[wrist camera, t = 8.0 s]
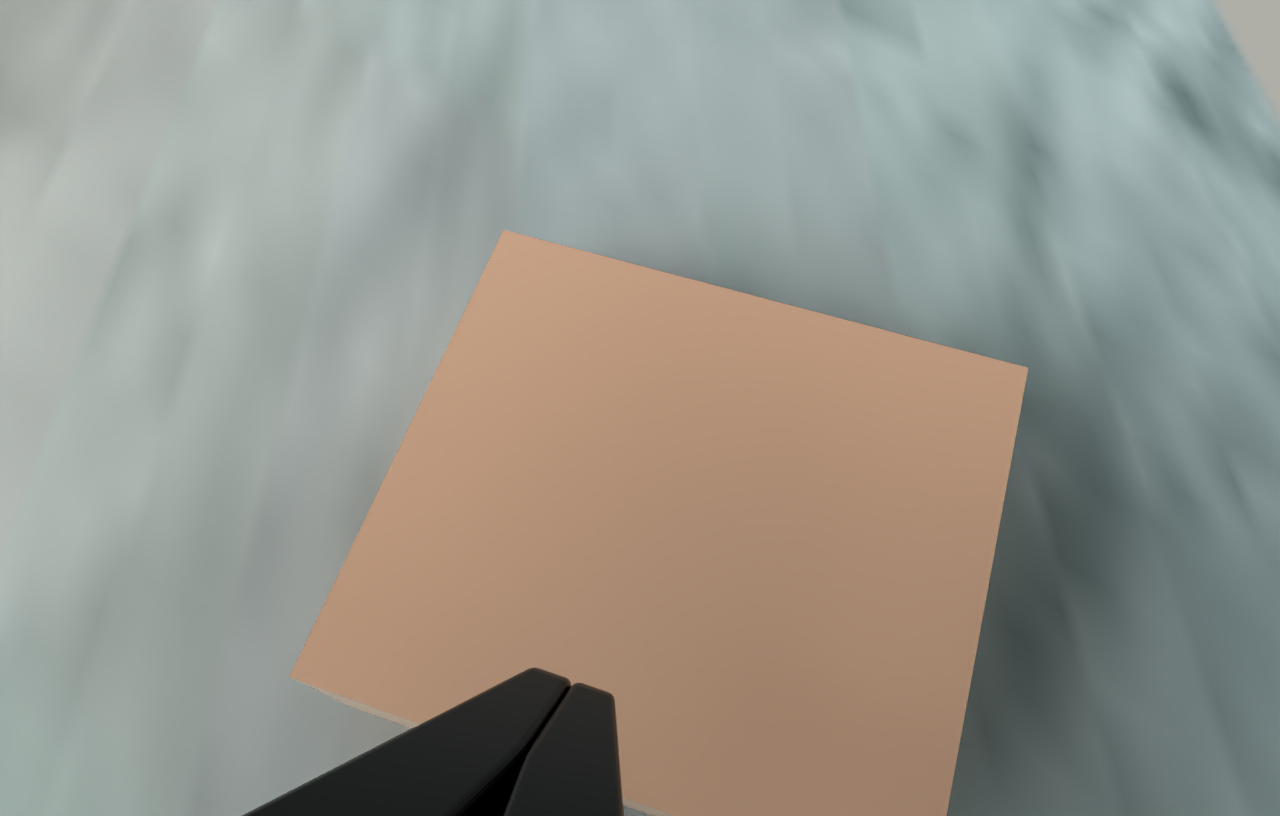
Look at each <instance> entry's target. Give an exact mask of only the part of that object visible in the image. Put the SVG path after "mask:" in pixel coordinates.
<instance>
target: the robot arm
mask: <svg viewBox="0 0 1280 816" xmlns="http://www.w3.org/2000/svg"><path fill="white" fill-rule="evenodd" d="M242 816H624V811H623V798H622V785H621V773H620V760H619V747H618V734H617V721H616V708H615V699H614V696H613V695H612V694H611V693H609V692H607V691H604V690H601V689H598V688H595V687H592V686H589V685H586V684H584V683H579V682H578V683H574V684H573V685H572V686H571V682H570V680H569V679H568V678H566V677H563V676H560V675H557V674H555V673H552V672H549V671H546V670H543V669H540V668H536V667H534V668H529V669H527V670H525V671H523V672H521V673H519V674H517V675H515V676H513V677H511V678H509V679H507V680H505V681H503V682H501V683H499V684H497V685H495V686H494V687H492V688H490V689H488V690H486V691H484V692H482V693H480V694H478V695H476V696H474V697H472V698H470V699H468V700H466V701H464V702H462V703H460V704H459V705H457V706H455V707H453V708H451V709H449V710H447V711H445V712H443V713H441V714H439V715H437V716H435V717H433V718H431V719H429V720H427V721H425V722H423V723H422V724H420V725H418V726H416V727H414V728H412V729H410V730H408V731H406V732H404V733H402V734H400V735H398V736H396V737H394V738H392V739H390V740H388V741H387V742H385V743H383V744H381V745H379V746H377V747H375V748H373V749H371V750H369V751H367V752H365V753H363V754H361V755H359V756H357V757H355V758H353V759H351V760H350V761H348V762H346V763H344V764H342V765H340V766H338V767H336V768H334V769H332V770H330V771H328V772H326V773H324V774H322V775H320V776H318V777H316V778H314V779H313V780H311V781H309V782H307V783H305V784H303V785H301V786H299V787H297V788H295V789H293V790H291V791H289V792H287V793H285V794H283V795H281V796H279V797H278V798H276V799H274V800H272V801H270V802H268V803H266V804H264V805H262V806H260V807H258V808H256V809H254V810H252V811H250V812H248V813H246V814H244V815H242Z"/></svg>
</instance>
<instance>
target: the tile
mask: <svg viewBox="0 0 1280 816" xmlns="http://www.w3.org/2000/svg"><path fill="white" fill-rule="evenodd" d="M1027 372H1028V368H1027V367H1024V366H1020V365H1016V364H1012V363H1008V362H1005V361H1001V360H997V359H993V358H989V357H986V356H982V355H978V354H974V353H970V352H966V351H963V350H959V349H955V348H951V347H947V346H944V345H940V344H936V343H932V342H928V341H925V340H921V339H917V338H913V337H909V336H906V335H902V334H898V333H894V332H890V331H887V330H883V329H879V328H875V327H871V326H868V325H864V324H860V323H856V322H852V321H849V320H845V319H841V318H837V317H833V316H830V315H826V314H822V313H818V312H814V311H810V310H807V309H803V308H799V307H795V306H791V305H788V304H784V303H780V302H776V301H772V300H769V299H765V298H761V297H757V296H753V295H750V294H746V293H742V292H738V291H734V290H731V289H727V288H723V287H719V286H715V285H712V284H708V283H704V282H700V281H696V280H693V279H689V278H685V277H681V276H677V275H673V274H670V273H666V272H662V271H658V270H654V269H651V268H647V267H643V266H639V265H635V264H632V263H628V262H624V261H620V260H616V259H613V258H609V257H605V256H601V255H597V254H594V253H590V252H586V251H582V250H578V249H575V248H571V247H567V246H563V245H559V244H556V243H552V242H548V241H544V240H540V239H537V238H533V237H529V236H525V235H521V234H517V233H514V232H510V231H506V230H503V232H502V234H501V236H500V238H499V241H498V243H497V245H496V247H495V249H494V251H493V253H492V255H491V257H490V259H489V261H488V264H487V266H486V268H485V270H484V272H483V274H482V276H481V278H480V280H479V282H478V284H477V286H476V289H475V291H474V293H473V295H472V297H471V299H470V301H469V303H468V305H467V307H466V309H465V311H464V314H463V316H462V318H461V320H460V322H459V324H458V326H457V328H456V330H455V332H454V334H453V336H452V339H451V341H450V343H449V345H448V347H447V349H446V351H445V353H444V355H443V357H442V359H441V361H440V364H439V366H438V368H437V370H436V372H435V374H434V376H433V378H432V380H431V382H430V384H429V386H428V389H427V391H426V393H425V395H424V397H423V399H422V401H421V403H420V405H419V407H418V409H417V412H416V414H415V416H414V418H413V420H412V422H411V424H410V426H409V428H408V430H407V432H406V434H405V437H404V439H403V441H402V443H401V445H400V447H399V449H398V451H397V453H396V455H395V457H394V459H393V462H392V464H391V466H390V468H389V470H388V472H387V474H386V476H385V478H384V480H383V482H382V484H381V487H380V489H379V491H378V493H377V495H376V497H375V499H374V501H373V503H372V505H371V507H370V509H369V512H368V514H367V516H366V518H365V520H364V522H363V524H362V526H361V528H360V530H359V532H358V534H357V537H356V539H355V541H354V543H353V545H352V547H351V549H350V551H349V553H348V555H347V557H346V560H345V562H344V564H343V566H342V568H341V570H340V572H339V574H338V576H337V578H336V580H335V582H334V585H333V587H332V589H331V591H330V593H329V595H328V597H327V599H326V601H325V603H324V605H323V607H322V610H321V612H320V614H319V616H318V618H317V620H316V622H315V624H314V626H313V628H312V630H311V632H310V635H309V637H308V639H307V641H306V643H305V645H304V647H303V649H302V651H301V653H300V655H299V657H298V660H297V662H296V664H295V666H294V668H293V670H292V672H291V674H290V676H289V677H291V678H293V679H295V680H297V681H299V682H301V683H303V684H305V685H307V686H309V687H311V688H313V689H316V690H318V691H320V692H322V693H324V694H326V695H328V696H330V697H332V698H334V699H336V700H338V701H340V702H342V703H344V704H346V705H349V706H352V707H354V708H357V709H360V710H363V711H365V712H368V713H371V714H374V715H377V716H379V717H382V718H385V719H388V720H390V721H393V722H396V723H399V724H401V725H404V726H407V727H410V728H414V727H416V726H418V725H420V724H422V723H423V722H425V721H427V720H429V719H431V718H433V717H435V716H437V715H439V714H441V713H443V712H445V711H447V710H449V709H451V708H453V707H455V706H457V705H459V704H460V703H462V702H464V701H466V700H468V699H470V698H472V697H474V696H476V695H478V694H480V693H482V692H484V691H486V690H488V689H490V688H492V687H494V686H495V685H497V684H499V683H501V682H503V681H505V680H507V679H509V678H511V677H513V676H515V675H517V674H519V673H521V672H523V671H525V670H527V669H529V668H534V667H536V668H540V669H543V670H546V671H549V672H552V673H555V674H557V675H560V676H563V677H566V678H568V679H569V680H570V682H571V686H572V685H573V684H574V683H578V682H579V683H584V684H586V685H589V686H592V687H595V688H598V689H601V690H604V691H607V692H609V693H611V694H612V695H613V696H614V699H615V708H616V721H617V734H618V747H619V760H620V773H621V785H622V798H623V805H624V806H627V807H630V808H633V809H635V810H638V811H641V812H644V813H646V814H649V815H652V816H947V810H948V805H949V799H950V794H951V788H952V783H953V778H954V772H955V767H956V761H957V756H958V750H959V745H960V739H961V734H962V728H963V723H964V717H965V712H966V706H967V701H968V695H969V690H970V684H971V679H972V674H973V668H974V663H975V657H976V652H977V646H978V641H979V635H980V630H981V624H982V619H983V613H984V608H985V602H986V597H987V591H988V586H989V580H990V575H991V570H992V564H993V559H994V553H995V548H996V542H997V537H998V531H999V526H1000V520H1001V515H1002V509H1003V504H1004V498H1005V493H1006V487H1007V482H1008V476H1009V471H1010V466H1011V460H1012V455H1013V449H1014V444H1015V438H1016V433H1017V427H1018V422H1019V416H1020V411H1021V405H1022V400H1023V394H1024V389H1025V383H1026V378H1027Z"/></svg>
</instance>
